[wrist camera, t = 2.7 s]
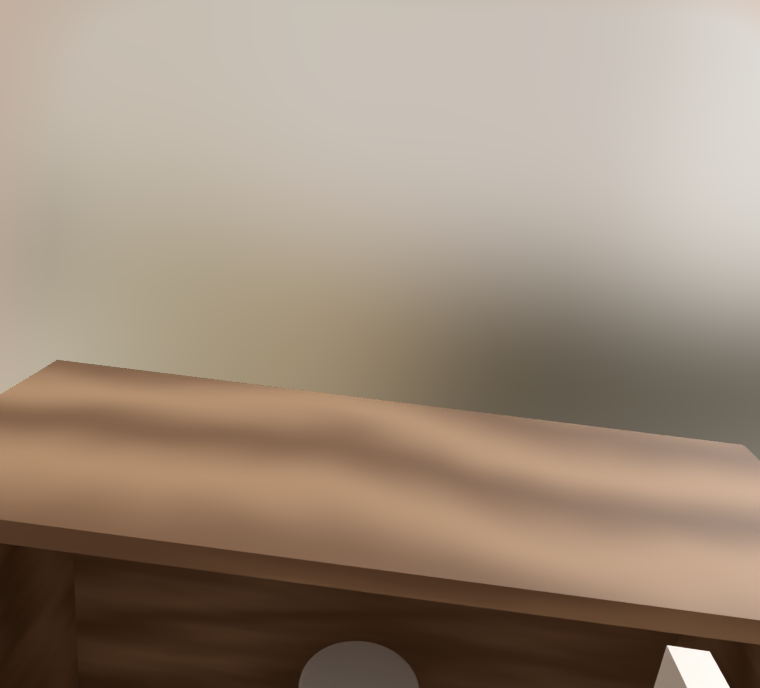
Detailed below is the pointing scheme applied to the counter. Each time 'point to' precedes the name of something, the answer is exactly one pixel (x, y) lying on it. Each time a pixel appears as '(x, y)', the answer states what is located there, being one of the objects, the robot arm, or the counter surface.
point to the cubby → (357, 539)
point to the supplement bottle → (357, 668)
